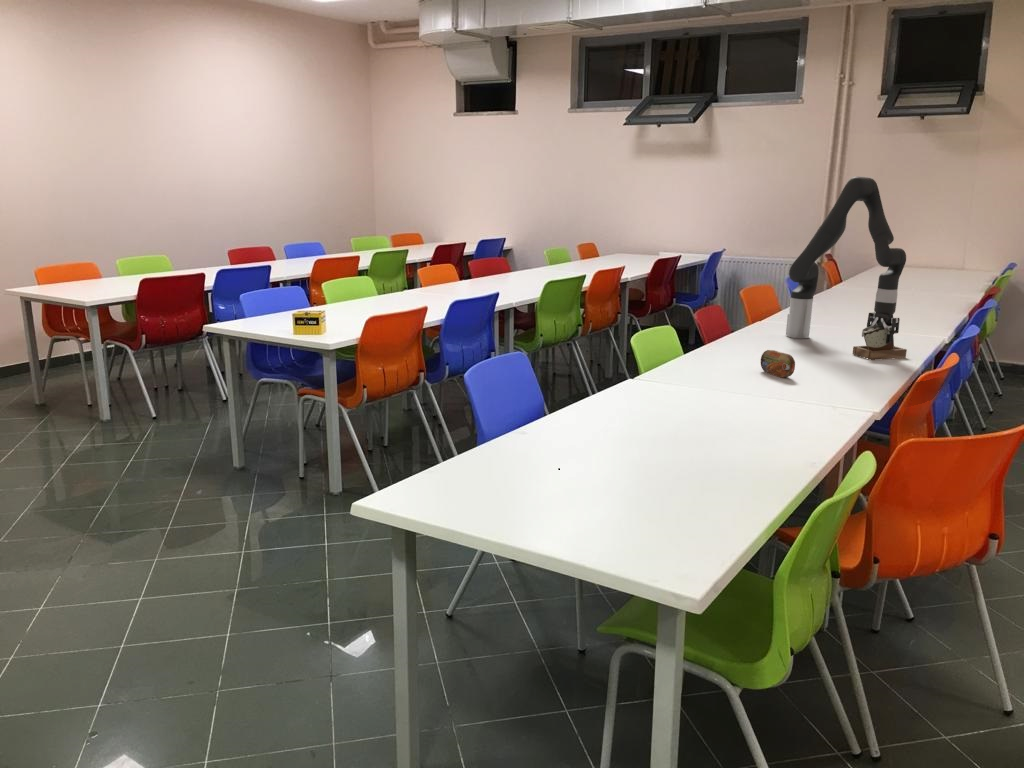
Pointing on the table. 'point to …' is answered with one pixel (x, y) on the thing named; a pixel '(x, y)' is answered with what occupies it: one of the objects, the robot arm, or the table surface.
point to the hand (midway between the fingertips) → (880, 341)
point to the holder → (879, 353)
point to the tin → (777, 363)
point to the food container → (876, 338)
